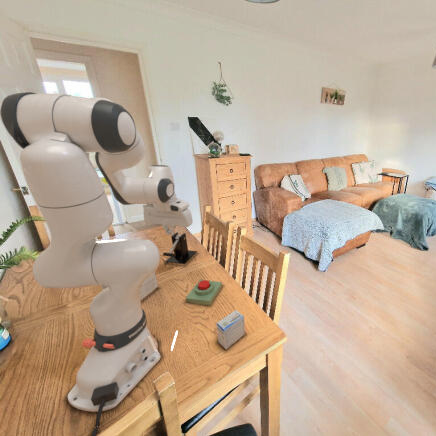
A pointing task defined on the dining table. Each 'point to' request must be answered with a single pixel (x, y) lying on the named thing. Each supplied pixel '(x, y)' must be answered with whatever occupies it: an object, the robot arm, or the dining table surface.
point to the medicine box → (230, 329)
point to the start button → (204, 285)
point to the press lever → (173, 247)
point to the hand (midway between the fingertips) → (170, 233)
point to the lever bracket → (181, 250)
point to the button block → (204, 293)
